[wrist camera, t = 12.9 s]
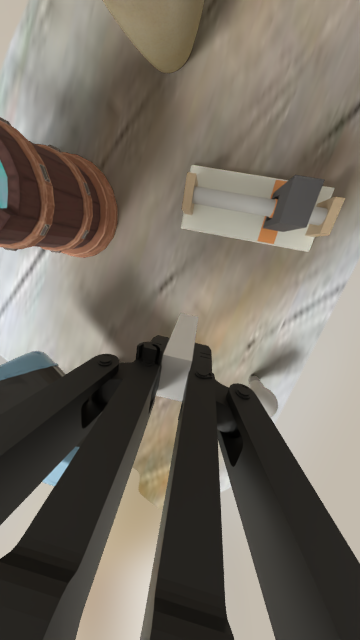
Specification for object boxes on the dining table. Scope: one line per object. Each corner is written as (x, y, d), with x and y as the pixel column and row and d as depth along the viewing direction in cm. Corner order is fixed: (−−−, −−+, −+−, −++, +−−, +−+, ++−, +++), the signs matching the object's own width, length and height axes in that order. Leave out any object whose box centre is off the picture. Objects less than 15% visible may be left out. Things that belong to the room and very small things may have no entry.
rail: (181, 228, 37) (177, 225, 32) (191, 166, 34) (188, 151, 28) (306, 251, 36) (323, 252, 30) (331, 189, 32) (356, 178, 27)
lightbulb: (259, 363, 46) (273, 397, 35) (270, 382, 47) (287, 419, 37) (235, 373, 47) (243, 408, 37) (247, 391, 49) (257, 429, 39)
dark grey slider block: (262, 228, 34) (279, 222, 26) (273, 192, 32) (295, 174, 24) (283, 232, 34) (306, 227, 26) (295, 196, 31) (324, 179, 24)
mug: (10, 134, 36) (-202, 15, 17) (124, 169, 35) (32, 83, 17) (15, 238, 43) (-131, 231, 24) (111, 268, 42) (35, 284, 24)
